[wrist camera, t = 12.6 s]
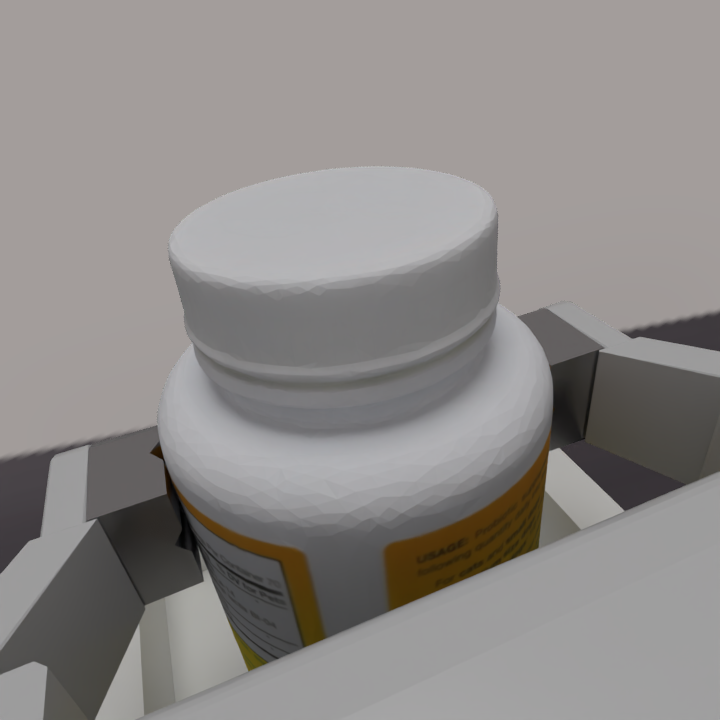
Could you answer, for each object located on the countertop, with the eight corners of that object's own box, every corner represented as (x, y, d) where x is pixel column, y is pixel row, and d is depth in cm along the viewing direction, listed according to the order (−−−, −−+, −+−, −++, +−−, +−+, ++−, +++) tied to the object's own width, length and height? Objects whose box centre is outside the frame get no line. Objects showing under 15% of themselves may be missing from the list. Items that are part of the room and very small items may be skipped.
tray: (160, 1355, 7) (47, 1417, 5) (129, 588, 17) (84, 509, 15) (838, 877, 10) (927, 802, 8) (483, 457, 20) (484, 376, 18)
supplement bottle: (512, 564, 14) (544, 138, 9) (536, 843, 10) (642, 319, 4) (297, 551, 15) (201, 161, 10) (227, 799, 11) (-36, 328, 5)
